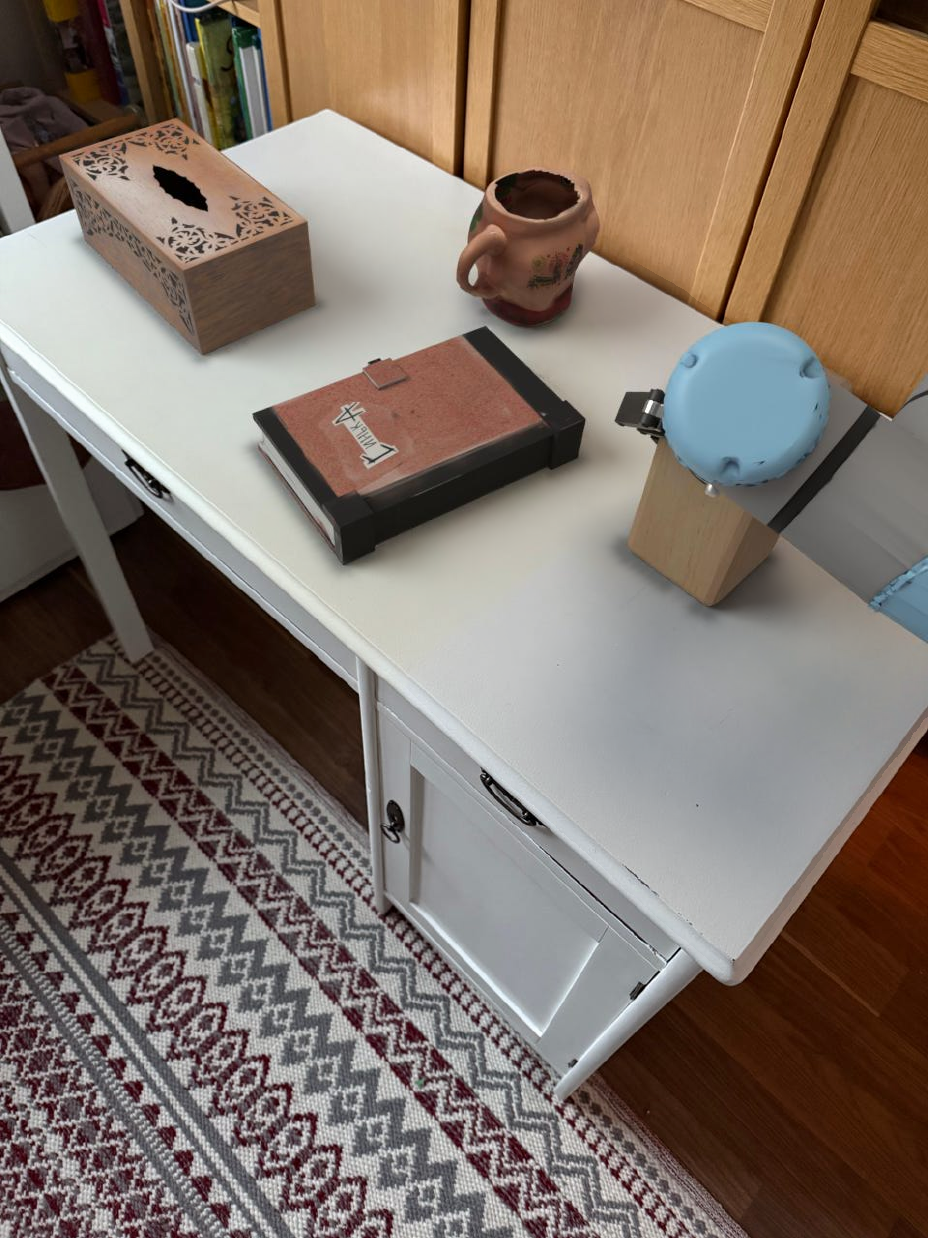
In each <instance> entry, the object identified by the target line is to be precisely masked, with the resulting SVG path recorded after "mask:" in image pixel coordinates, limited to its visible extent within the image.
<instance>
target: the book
mask: <svg viewBox="0 0 928 1238" xmlns="http://www.w3.org/2000/svg"><path fill="white" fill-rule="evenodd" d="M251 415H252V419H253V421H254V423H255V424H256V425H257V426H258V428H259V429H260V430H261V434H262V441H261V442H258V443H257V449H258V450H259V451H260V453H261V454H262V456H263V458H265V460H266V461H267V463H268V464H269V465H270V467H271V469H272V470H273V471H274V472H275V474H276V475H277V477H278V478H279V479H280V480H281V482H282V483H283V485H284V486H285V488H286V489H287V490H288V492H289V493H290V494H291V495H292V498H293V499H294V500H295V501H296V503H297V504H298V505H299V507H300V508H301V509H302V511H303V512H304V513H305V515H306V516H307V517H308V519H309V520H310V522H311V523H312V524H313V526H314V527H315V528H316V530H317V531H318V532H319V534H320V535H321V537H322V538H323V539H324V541H325V542H326V544H327V545H328V546H329V548H330V549H331V550H332V552H333V554H334V555H335V556H336V557H337V558H338V560H339V562H340V563H341V564H342V565H343V566H345V565H347V564H348V563H351V562H353V561H355V560H358V559H360V558H362V557H365V556H366V555H369V554H371V553H373V552H375V551H376V546H377V545H379V544H380V543H383V542H385V541H387V540H389V539H391V538H394V537H397V536H398V535H400V534H402V533H405V532H406V531H409V530H411V529H414V528H415V527H418V526H420V525H422V524H424V523H427V522H429V521H431V520H433V519H435V518H437V517H439V516H442V515H444V514H446V513H448V512H450V511H453V510H455V509H457V508H460V507H463V506H464V505H466V504H468V503H471V502H473V501H475V500H477V499H479V498H482V497H483V496H486V495H489V494H490V493H492V492H495V491H496V490H499V489H501V488H504V487H506V486H508V485H510V484H513V483H514V482H517V481H519V480H521V479H524V478H525V477H527V476H530V475H532V474H534V473H536V472H539V471H541V470H543V469H545V468H547V467H548V468H549V469H550V470H554V469H556V468H558V467H560V466H563V465H565V464H567V463H569V462H571V461H573V460H576V459H578V458H579V455H580V449H581V445H582V440H583V435H584V430H585V425H586V421H587V418H586V417H584V415H582V414H581V412H579V411H578V410H577V409H576V407H574V406H573V405H572V404H571V403H570V401H568V399H564V400H563V399H562V398H560V396H558V394H557V393H555V392H554V391H553V390H552V389H551V388H550V387H549V386H548V385H547V384H546V383H545V382H544V381H543V380H542V379H541V378H540V377H539V376H538V375H537V374H536V373H535V372H534V371H533V370H532V369H531V368H530V367H528V365H527V364H526V363H524V362H523V361H522V360H521V358H520V357H519V356H518V355H517V354H516V353H514V351H512V350H511V348H509V347H508V346H507V345H506V344H505V342H503V341H502V339H500V338H499V337H498V336H497V335H496V334H495V333H494V332H493V331H492V330H491V329H490V328H489V327H488V326H487V325H483V326H481V327H478V328H476V329H473V330H470V331H468V332H465V333H462V334H459V335H457V336H454V337H452V338H451V337H450V338H449V339H447V340H444V341H441V342H438V343H436V344H433V345H431V346H427V347H426V348H422V349H419V350H416V351H414V352H412V353H409V354H406V355H403V356H402V357H399V358H396V359H392V358H391V357H388V358H385V359H381V358H380V357H379V358H376V359H373V360H370V361H368V362H367V366H365V367H364V366H363V367H362V371H361V372H359V373H356V374H353V375H351V376H348V377H345V378H343V379H340V380H338V381H337V380H336V381H334V382H332V383H329V384H326V385H324V386H321V387H319V388H316V389H314V390H311V391H308V392H306V393H303V394H300V395H298V396H294V397H293V398H290V399H287V400H283V401H282V402H279V403H276V404H274V405H271V406H268V407H266V408H263V409H261V410H258V411H254V412H253V413H252V414H251Z"/></svg>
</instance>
